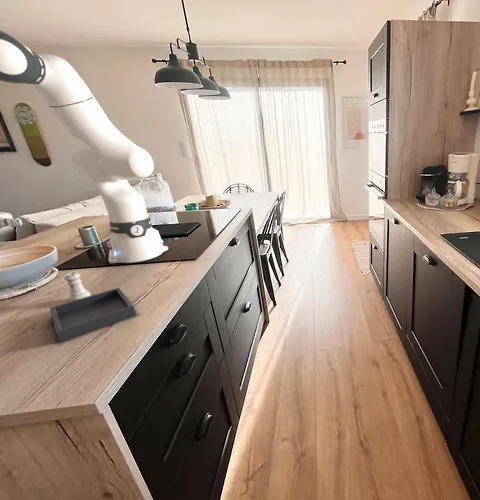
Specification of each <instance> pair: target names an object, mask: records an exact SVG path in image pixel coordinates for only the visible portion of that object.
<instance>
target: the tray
mask: <svg viewBox="0 0 480 500" xmlns="http://www.w3.org/2000/svg"><path fill="white" fill-rule="evenodd" d="M91 295H92V296H88V297H85V298H82V299H78V300H75V301H71V302H70V301H67V302H65V303H62V304H61V303H60V304H58V305H55V306H51V307H49V310H50V314H51V318H52V322H53V325H54V329H55V333H56V335H57V337H58V340H59V342H60V343H63V342H66V341H69V340H71V339H74V338H78V337H80V336H83V335H85V334H88V333H92V332H94V331H96V330H100V329H102V328H105V327H107V326H110V325H113V324H117V323H119V322H121V321H124V320H127V319H130V318H133V317H135V316H137V313H136V310H135V306H134V305H133V304H132V302H131V301H130V299H128V297H127V296H126V295H125V293H124V292H123V291H122V290H121V288H120V287H116V288H112V289H109V290H106V291H102V292H99V293H96V294H91Z"/></svg>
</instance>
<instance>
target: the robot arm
mask: <svg viewBox="0 0 480 500" xmlns="http://www.w3.org/2000/svg"><path fill="white" fill-rule="evenodd" d="M0 82H1V83H9V84H27V85H29V86H30V87H32V88H33V89H34V90H35V91H36V92H37V93H38V94H39V95H40V97H41V98H42V100H43V101H44V103H45V104H46V105H47V107H48V108H49V110H50V111H51V112H52V113H53V115H54V116H55V118H56V119H57V120H58V122H59V123H60V124H61V125H62V127H63V128H64V129H65V131H66V132H67V133H68V134H69V135H70V136H72V137H74V138H75V139H77V140H79V141H81V142H83V143H84V144H85V145H87V146H85V147H81V148H79V149H76V150H75V151H74V152H73V154H72V157H71V162H72V166H73V167H74V169H75V170H76V171H77V173H78V174H80V175H82V176H83V177H84V178H86V179H87V180H88V181H89V182H90V183H91V184H92V186H93V187H94V188H95V189H96V191H97V192H98V194H99V195H100V197H101V200H102V202H103V203H104V206H105V210H106V212H107V214H108V217H109V229H110V231H111V232H112V235H111V236H110V239H109V241H106V245H107V248H111V249H109V250H108V264H131V263H133V264H134V263H139V262H144V261H149V260H151V259H154V258H157V257H159V256H161V255H162V254H163V253H164V252H167V251H169V246H166V245H163V243H164V240H163V239H162V238H161V235H160V233H159V230H157V229H156V228H154V227H153V222H152V219H151V217H150V216H149V214H148V210H147V206H146V202H145V199H144V196H143V195H142V194H141V193H140V192H139V191H137V190H135V189H134V187H133V186H132V185H131V184H130V183H129V181H137V180H142V179H145V178H148V177H149V178H150V176H151V175H152V174H153V172H154V169H155V163H154V159H153V157H152V156H151V155H150V153H149V152H148V151H147V150H145V149H144V148H141V147H140V146H138V145H136V144H134V143H133V142H132V141H131V140H130V139H128V138H127V137H126V136H125V135H124V134H123V133H121V132H120V131H119V129H118V128H117V127H116V126H115V125H114V124H113V123H112V122H111V120H110V119H109V118H108V116H107V115H106V113H105V112H104V110H103V108H102V107H101V106H100V104H99V103H98V100H96V98H95V96H94V95H93V93H92V92H91V90H90V89H89V88H88V86H87V84H86V83H85V82H84V80H83V79H82V78H81V76H79V74H78V73H77V72H76V70H75V69H74V68H73V67H72V66H71V65H70V64H69V62H68V61H67V60H65V59H64V58H62V57H60V56H58V55H54V54H50V53H39V54H38V53H37V52H36V51H34V50H33V49H31V48H30V47H28V46H27V45H26V44H24V43H23V42H21V41H20V40H19V39H17V38H16V37H14V36H12V35H11V34H9V33H7V32H5V31H2V30H0ZM21 226H23V222H22V219H20V218H14V217H13V215H12V214H11V213H9V212H7V211H6V212H5V211H0V230H4V229H7V228H17V227H21Z"/></svg>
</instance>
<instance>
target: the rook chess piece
mask: <svg viewBox="0 0 480 500" xmlns="http://www.w3.org/2000/svg"><path fill="white" fill-rule="evenodd" d="M81 277H82V275H81V274H80V273H79V272H78V271H70V273H69V272H67V273H66V274H64V280H65V281H67V283H66V284H67V285H68V286H69V291H70V293H69V297H68V300H70V301H69V302H71V301H75V300H78V299H82V298H85V297H88V296H92V295H93V294H91V292H90V291H89V290H88V289H86V288H85V286H84V285H83V283H82V279H81Z"/></svg>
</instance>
